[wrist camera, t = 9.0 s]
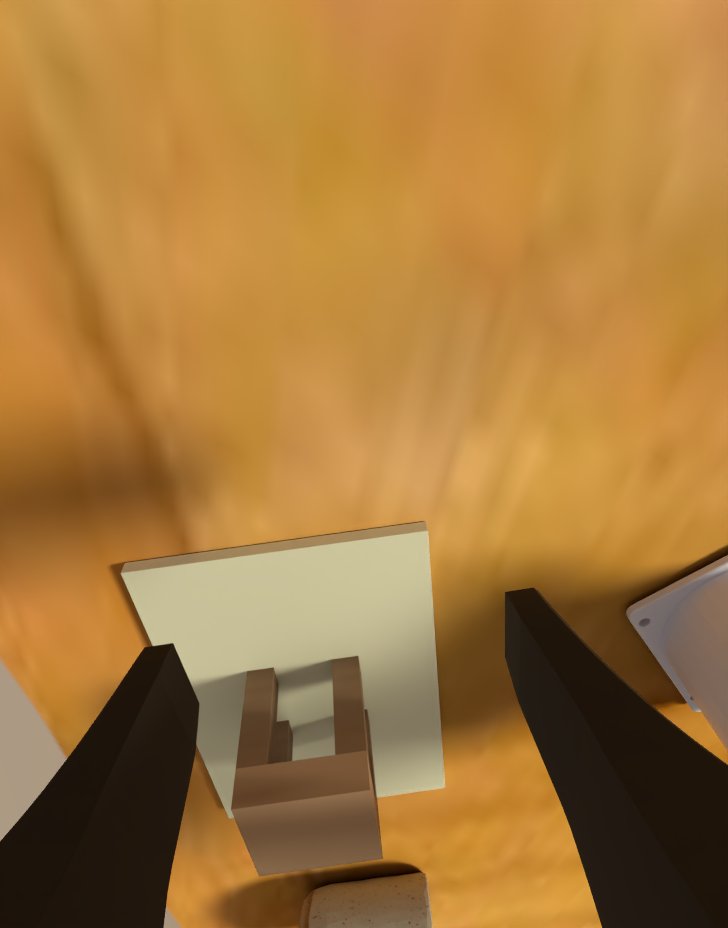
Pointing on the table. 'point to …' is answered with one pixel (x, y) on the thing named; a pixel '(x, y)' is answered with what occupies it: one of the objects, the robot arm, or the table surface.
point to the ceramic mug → (370, 904)
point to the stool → (306, 782)
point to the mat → (306, 643)
